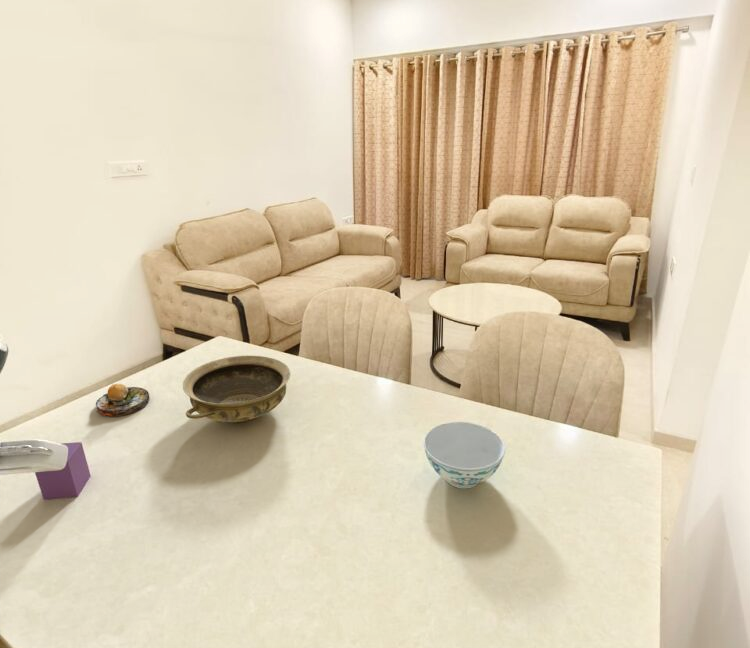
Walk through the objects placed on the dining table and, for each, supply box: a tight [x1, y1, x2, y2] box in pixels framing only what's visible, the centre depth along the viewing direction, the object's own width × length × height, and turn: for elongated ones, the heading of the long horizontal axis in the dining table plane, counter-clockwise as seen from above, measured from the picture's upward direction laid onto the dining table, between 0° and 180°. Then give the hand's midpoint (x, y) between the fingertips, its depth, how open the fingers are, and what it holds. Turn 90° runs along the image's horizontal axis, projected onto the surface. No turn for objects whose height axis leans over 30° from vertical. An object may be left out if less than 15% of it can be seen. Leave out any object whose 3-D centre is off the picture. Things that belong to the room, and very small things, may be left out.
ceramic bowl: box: [182, 354, 291, 423], centre depth 117 cm, size 30×24×10 cm
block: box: [34, 441, 92, 501], centre depth 94 cm, size 6×6×8 cm
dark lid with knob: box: [95, 383, 150, 417], centre depth 122 cm, size 12×12×8 cm
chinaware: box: [423, 421, 506, 489], centre depth 95 cm, size 15×15×8 cm
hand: (17, 468), depth 80 cm, fingers closed
